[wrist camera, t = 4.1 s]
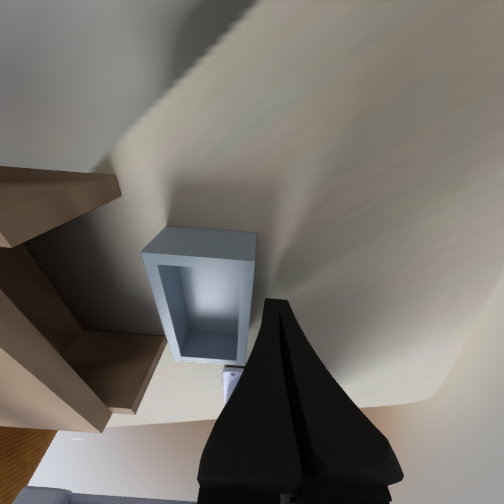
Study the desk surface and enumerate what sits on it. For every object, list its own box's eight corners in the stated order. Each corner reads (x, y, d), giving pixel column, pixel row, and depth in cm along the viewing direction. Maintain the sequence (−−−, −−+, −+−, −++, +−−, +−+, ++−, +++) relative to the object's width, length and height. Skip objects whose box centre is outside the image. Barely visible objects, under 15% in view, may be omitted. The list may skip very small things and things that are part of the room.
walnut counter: (115, 175, 9) (-70, 232, 4) (166, 342, 17) (126, 435, 12) (-53, 161, 9) (-455, 202, 4) (76, 335, 17) (-5, 425, 12)
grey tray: (256, 230, 11) (255, 261, 8) (247, 327, 16) (245, 365, 13) (168, 223, 11) (140, 252, 8) (187, 323, 16) (173, 360, 13)
